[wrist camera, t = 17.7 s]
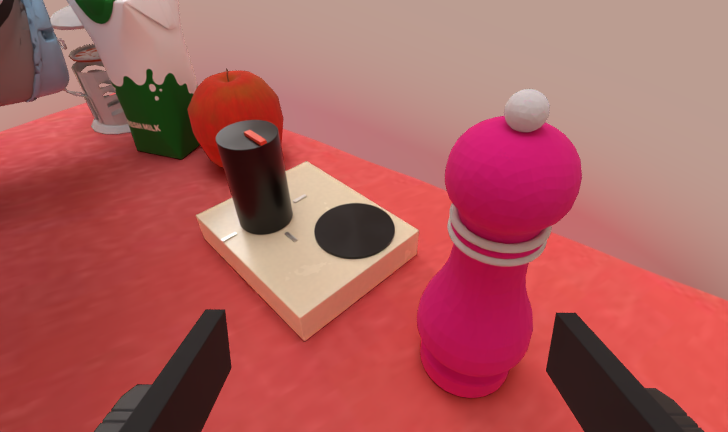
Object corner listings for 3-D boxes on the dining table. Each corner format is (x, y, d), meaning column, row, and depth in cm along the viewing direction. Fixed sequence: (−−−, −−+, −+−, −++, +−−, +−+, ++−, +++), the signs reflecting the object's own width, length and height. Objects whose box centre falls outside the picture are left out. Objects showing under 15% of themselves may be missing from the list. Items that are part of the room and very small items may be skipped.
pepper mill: (482, 305, 33) (550, 51, 20) (536, 387, 28) (678, 115, 15) (398, 329, 31) (413, 71, 18) (439, 421, 26) (503, 150, 13)
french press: (177, 114, 60) (104, -99, 44) (99, 147, 53) (-22, -91, 37) (141, 98, 65) (63, -100, 49) (65, 126, 58) (-55, -93, 42)
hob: (204, 238, 39) (194, 213, 37) (309, 183, 46) (306, 159, 44) (304, 342, 31) (299, 316, 29) (417, 254, 37) (419, 229, 35)
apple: (274, 133, 55) (258, 46, 48) (301, 169, 48) (288, 74, 41) (198, 153, 52) (168, 62, 44) (216, 195, 45) (184, 95, 37)
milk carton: (126, 153, 52) (44, -26, 39) (173, 121, 58) (116, -42, 45) (183, 165, 50) (115, -22, 37) (225, 130, 56) (181, -39, 43)
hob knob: (229, 217, 37) (203, 130, 31) (273, 194, 40) (256, 110, 34) (258, 242, 34) (234, 153, 29) (303, 216, 37) (290, 130, 31)
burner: (298, 230, 36) (297, 227, 35) (356, 195, 39) (356, 193, 39) (352, 273, 32) (352, 270, 32) (411, 230, 35) (411, 227, 35)
